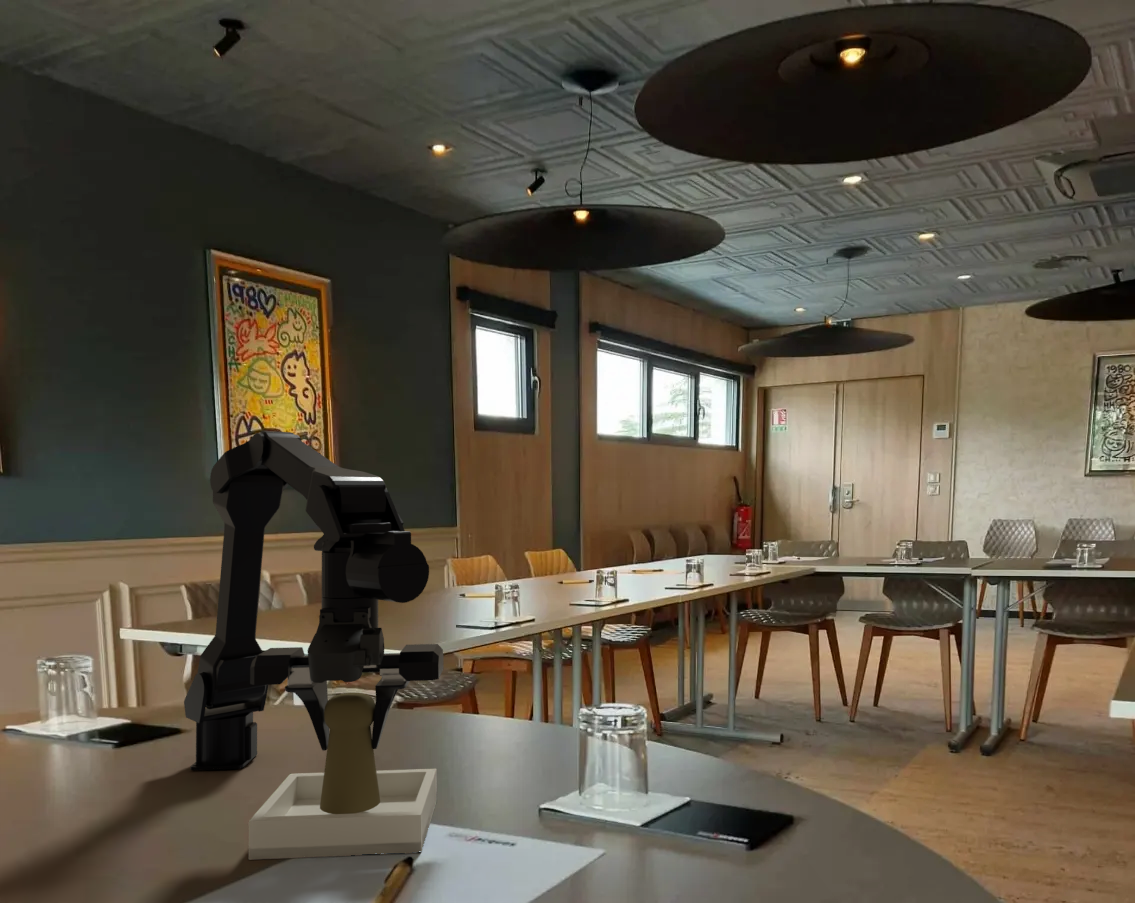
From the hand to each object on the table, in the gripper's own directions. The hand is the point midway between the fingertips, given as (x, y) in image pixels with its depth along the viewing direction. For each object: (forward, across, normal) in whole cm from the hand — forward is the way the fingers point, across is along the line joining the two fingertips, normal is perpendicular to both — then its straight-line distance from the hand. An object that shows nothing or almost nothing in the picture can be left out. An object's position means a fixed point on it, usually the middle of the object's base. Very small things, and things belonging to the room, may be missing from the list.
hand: (350, 748), depth 87 cm
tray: (+8, 0, 0) cm, 8 cm away
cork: (+6, 0, 0) cm, 6 cm away
